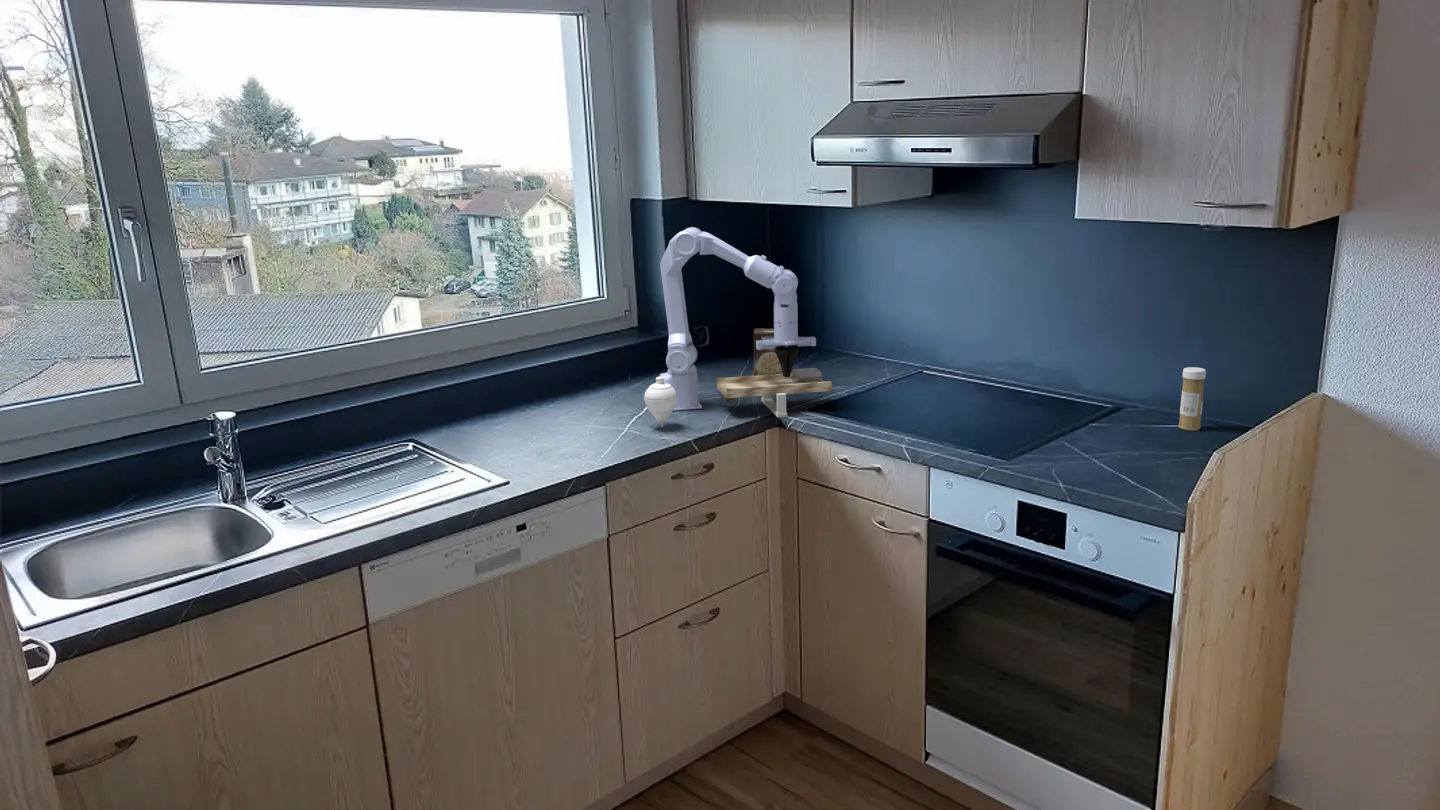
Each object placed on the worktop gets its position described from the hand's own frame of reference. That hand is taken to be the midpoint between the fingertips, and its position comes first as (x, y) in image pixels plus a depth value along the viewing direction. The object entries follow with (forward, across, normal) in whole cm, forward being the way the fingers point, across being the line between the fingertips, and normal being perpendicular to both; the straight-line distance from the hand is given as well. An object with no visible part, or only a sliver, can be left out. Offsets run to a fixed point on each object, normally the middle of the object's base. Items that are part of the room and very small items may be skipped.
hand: (786, 376), depth 248 cm
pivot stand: (+8, -3, 0) cm, 9 cm away
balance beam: (+5, -3, 0) cm, 6 cm away
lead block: (+2, +5, 0) cm, 6 cm away
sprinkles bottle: (+8, +80, -44) cm, 91 cm away
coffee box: (+8, +1, +18) cm, 20 cm away
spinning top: (+8, -32, -8) cm, 34 cm away
